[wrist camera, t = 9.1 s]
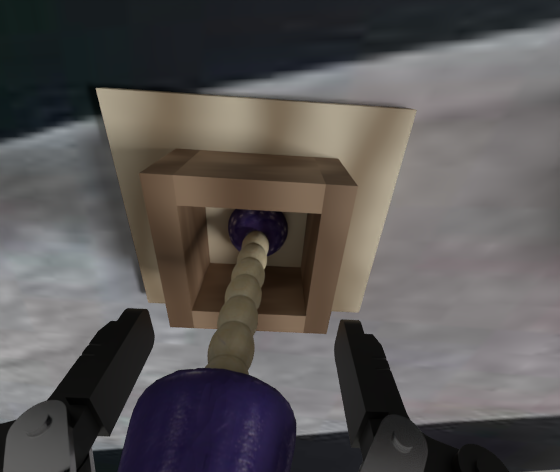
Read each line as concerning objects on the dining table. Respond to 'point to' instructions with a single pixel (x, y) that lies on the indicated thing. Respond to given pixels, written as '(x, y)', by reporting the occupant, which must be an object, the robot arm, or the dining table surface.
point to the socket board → (254, 197)
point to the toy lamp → (220, 383)
